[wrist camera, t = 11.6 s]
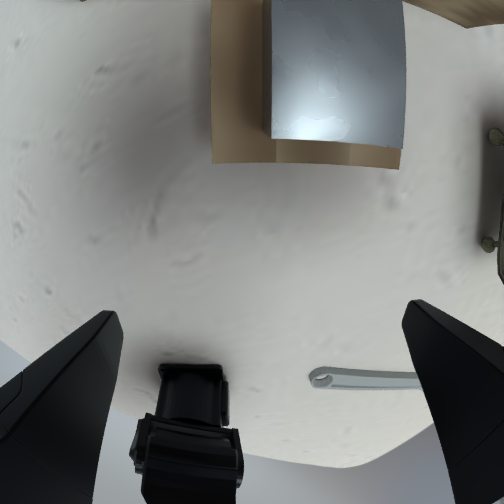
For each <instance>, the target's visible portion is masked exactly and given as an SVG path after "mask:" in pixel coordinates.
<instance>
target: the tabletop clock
mask: <svg viewBox="0 0 504 504" xmlns="http://www.w3.org/2000/svg"><path fill="white" fill-rule="evenodd" d="M489 139H490V141H491V142H492V143H493V144H494V145H496V146H499V145H501V144H503V145H504V134H503V132H502V131H501V130H500V129H498V128H493V129H491V130H490V132H489ZM495 247H498V252H497V265H498V275H499V277H500V279H501V281H502V282H503V284H504V194H503V201H502V210H501V223H500V233H499V241H494V239H493V238H492V237H489V236H488V237H485V238H484V239H483V241H482V248H483V250H484V251H485V252H487V253H491V252H493V251H494V249H495Z"/></svg>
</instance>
